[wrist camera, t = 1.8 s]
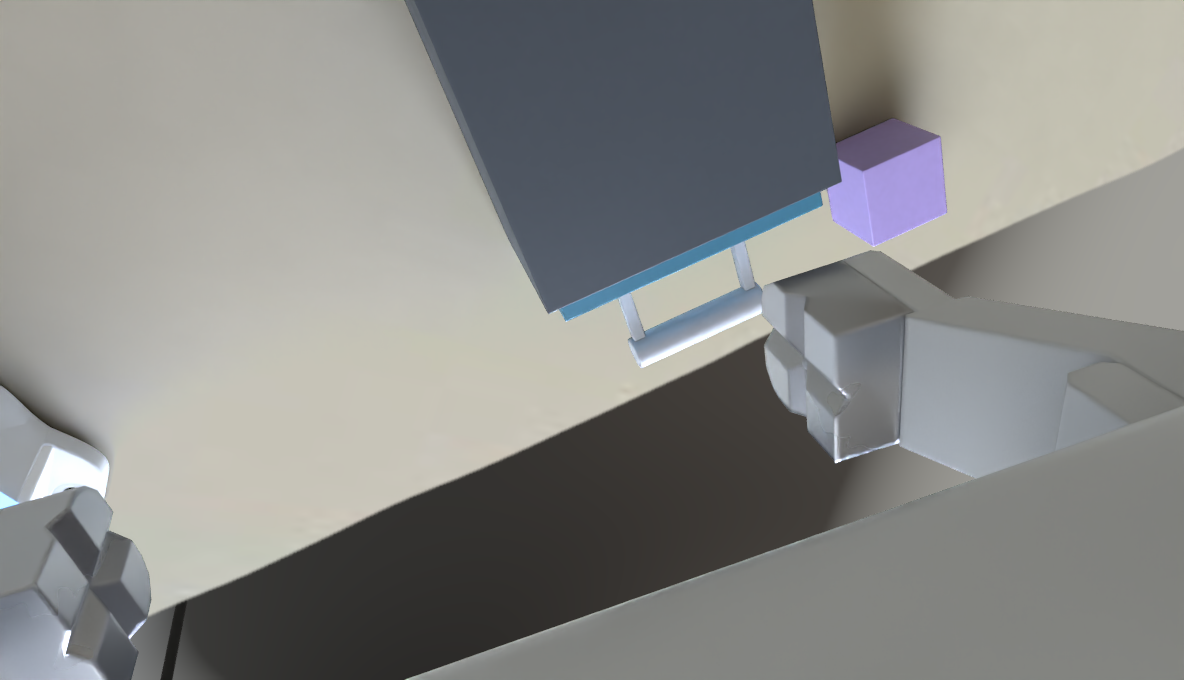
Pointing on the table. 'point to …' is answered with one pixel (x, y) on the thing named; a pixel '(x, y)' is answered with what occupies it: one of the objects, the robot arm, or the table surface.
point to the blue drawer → (704, 317)
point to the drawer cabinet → (632, 124)
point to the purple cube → (888, 181)
